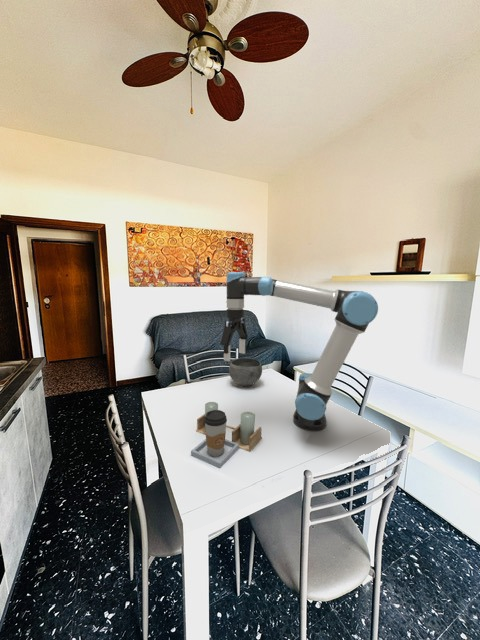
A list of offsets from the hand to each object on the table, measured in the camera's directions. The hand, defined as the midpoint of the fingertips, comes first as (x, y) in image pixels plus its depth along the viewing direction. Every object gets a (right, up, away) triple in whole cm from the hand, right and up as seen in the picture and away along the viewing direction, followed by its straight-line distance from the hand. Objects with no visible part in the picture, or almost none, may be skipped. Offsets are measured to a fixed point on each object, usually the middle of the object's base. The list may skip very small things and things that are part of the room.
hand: (234, 356), depth 116 cm
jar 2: (+5, -33, -9) cm, 34 cm away
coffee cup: (-7, -34, -16) cm, 38 cm away
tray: (-7, -34, -16) cm, 39 cm away
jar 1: (-10, -31, -1) cm, 33 cm away
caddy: (-3, -33, -5) cm, 33 cm away
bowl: (+6, -25, +52) cm, 58 cm away
